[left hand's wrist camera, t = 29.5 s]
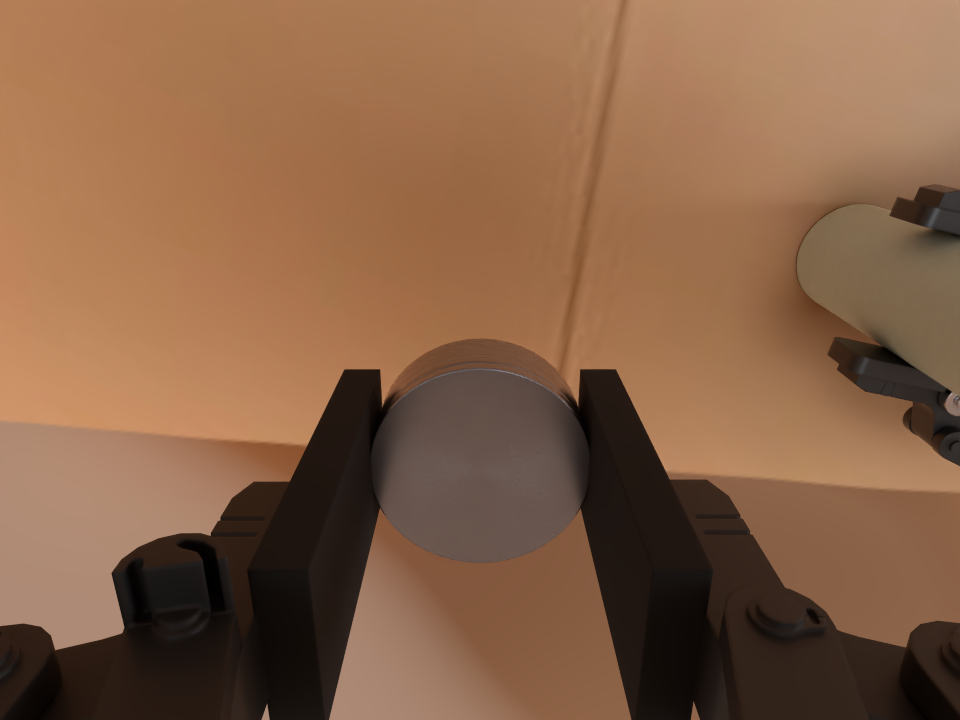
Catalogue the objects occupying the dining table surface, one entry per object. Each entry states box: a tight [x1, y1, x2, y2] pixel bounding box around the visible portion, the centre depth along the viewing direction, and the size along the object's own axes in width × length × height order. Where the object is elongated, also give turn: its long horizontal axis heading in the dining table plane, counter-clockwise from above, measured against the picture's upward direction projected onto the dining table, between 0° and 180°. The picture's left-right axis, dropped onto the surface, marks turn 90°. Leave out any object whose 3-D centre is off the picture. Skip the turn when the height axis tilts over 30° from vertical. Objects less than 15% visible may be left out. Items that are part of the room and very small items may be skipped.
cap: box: [370, 339, 590, 563], centre depth 14 cm, size 4×4×2 cm
